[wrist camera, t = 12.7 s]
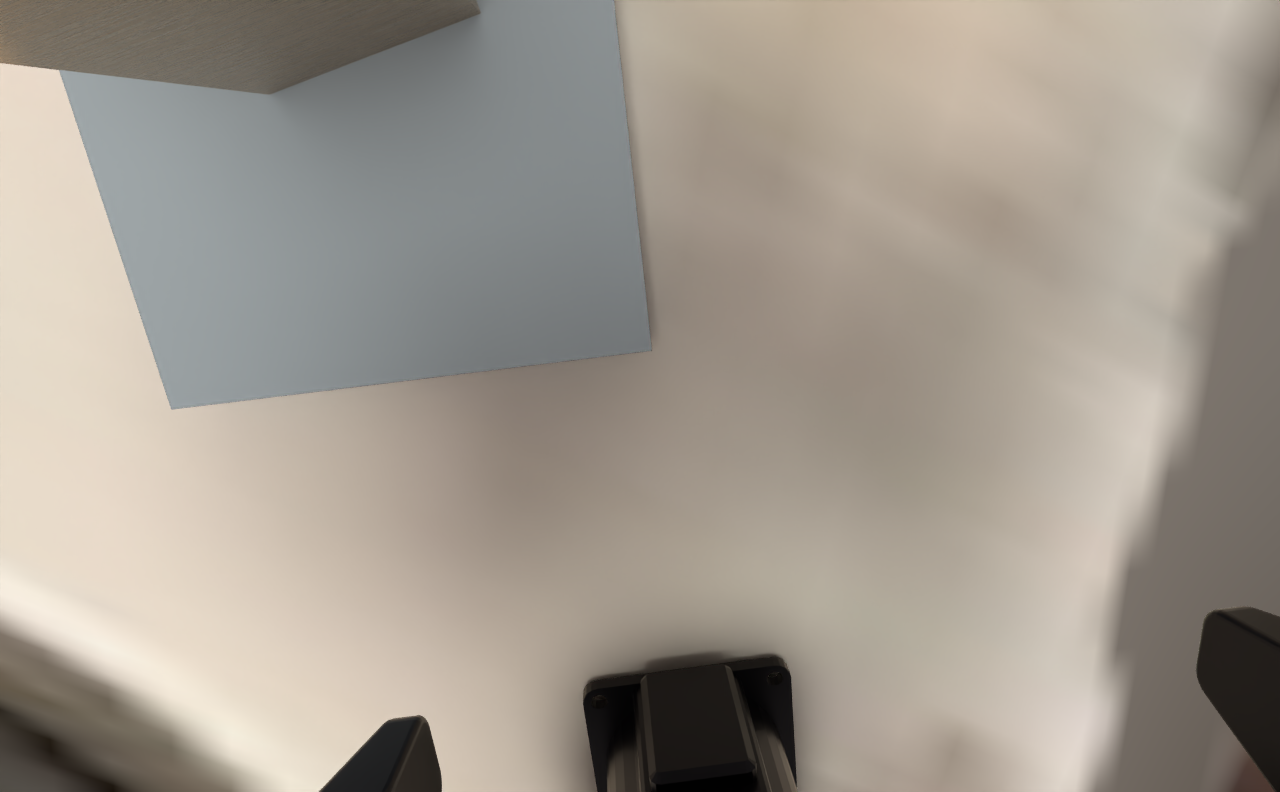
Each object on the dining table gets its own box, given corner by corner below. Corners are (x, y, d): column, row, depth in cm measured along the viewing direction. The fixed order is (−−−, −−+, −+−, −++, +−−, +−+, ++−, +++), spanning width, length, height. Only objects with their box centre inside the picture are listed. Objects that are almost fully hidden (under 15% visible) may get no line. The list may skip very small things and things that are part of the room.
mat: (647, 335, 21) (651, 350, 19) (200, 390, 20) (171, 409, 19) (577, -308, 16) (575, -351, 15) (-1, -248, 16) (-58, -285, 14)
